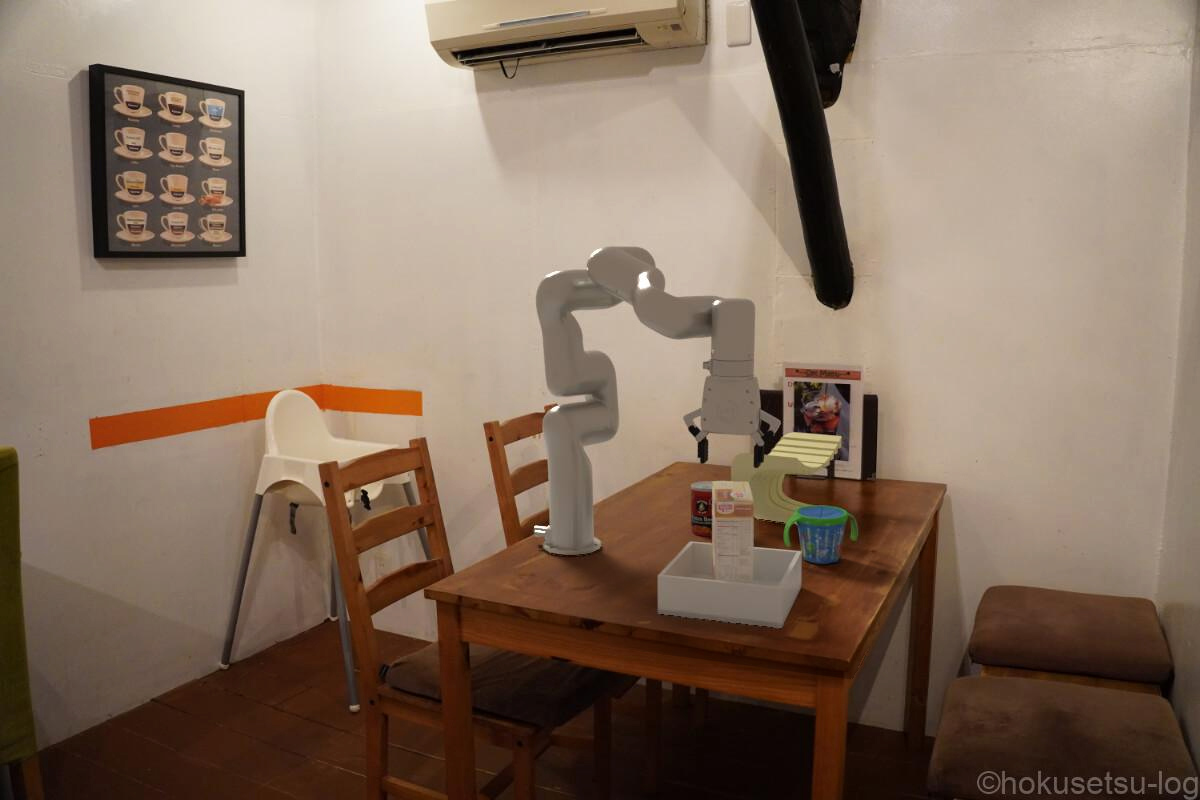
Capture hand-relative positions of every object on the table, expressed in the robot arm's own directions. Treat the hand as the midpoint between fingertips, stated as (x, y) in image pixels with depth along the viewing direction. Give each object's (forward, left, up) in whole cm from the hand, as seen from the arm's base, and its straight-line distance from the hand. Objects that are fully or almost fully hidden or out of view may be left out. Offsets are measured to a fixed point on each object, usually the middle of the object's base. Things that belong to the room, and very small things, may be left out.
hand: (730, 464), depth 168 cm
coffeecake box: (0, 0, -24) cm, 24 cm away
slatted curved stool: (0, +61, -25) cm, 66 cm away
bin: (0, 0, -25) cm, 25 cm away
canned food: (-15, +42, -25) cm, 51 cm away
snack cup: (+12, +29, -25) cm, 40 cm away
